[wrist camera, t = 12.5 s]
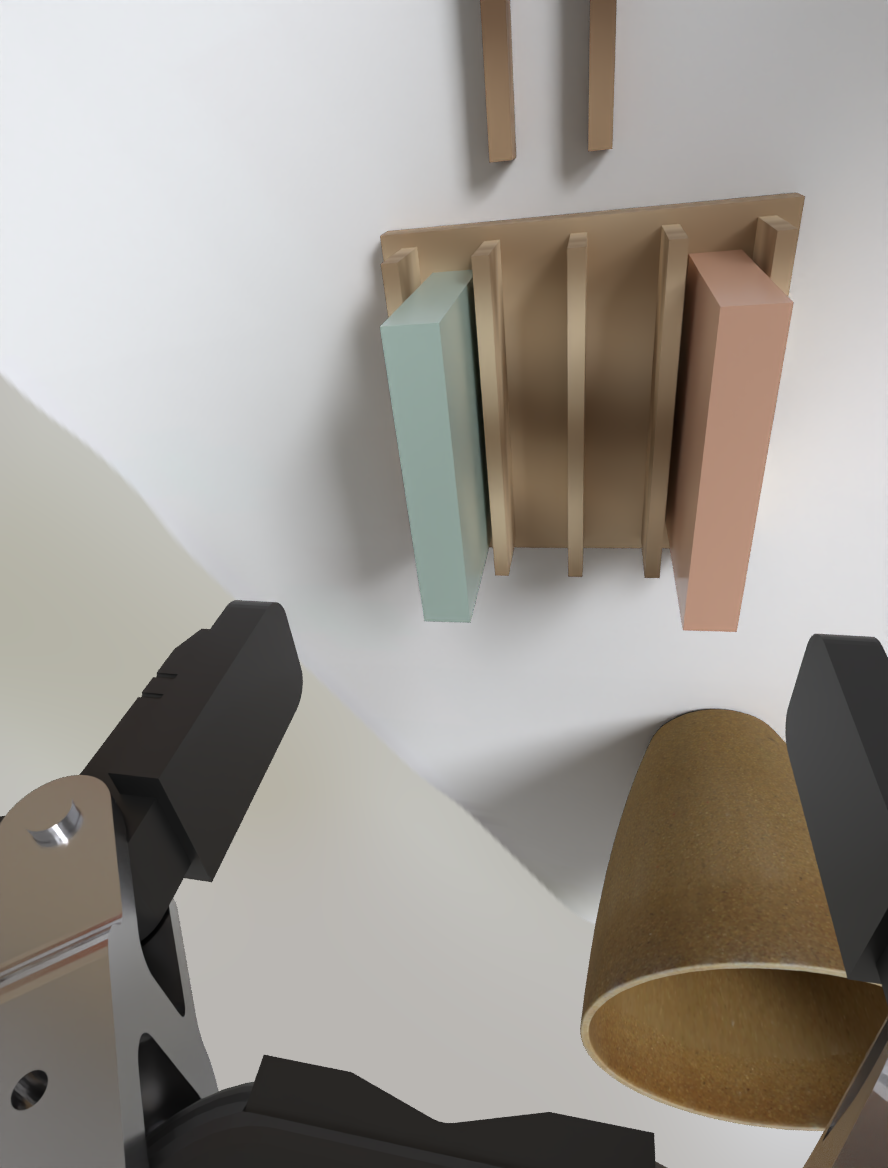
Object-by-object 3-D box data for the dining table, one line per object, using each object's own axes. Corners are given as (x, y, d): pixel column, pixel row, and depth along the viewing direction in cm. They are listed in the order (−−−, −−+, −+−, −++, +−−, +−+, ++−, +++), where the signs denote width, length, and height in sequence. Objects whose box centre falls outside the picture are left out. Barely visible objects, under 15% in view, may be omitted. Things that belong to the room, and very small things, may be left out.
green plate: (432, 272, 27) (379, 326, 20) (478, 268, 26) (439, 322, 20) (458, 519, 33) (424, 621, 26) (495, 519, 32) (470, 622, 26)
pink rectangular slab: (688, 253, 25) (720, 306, 18) (741, 249, 24) (793, 302, 18) (665, 520, 31) (682, 630, 24) (707, 519, 30) (736, 631, 24)
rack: (387, 231, 27) (356, 250, 24) (796, 192, 24) (830, 208, 20) (429, 534, 35) (409, 583, 31) (741, 535, 32) (759, 589, 28)
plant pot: (538, 762, 43) (513, 1041, 30) (701, 613, 35) (763, 914, 22) (724, 862, 46) (774, 1161, 33) (921, 746, 37) (1094, 1089, 24)
